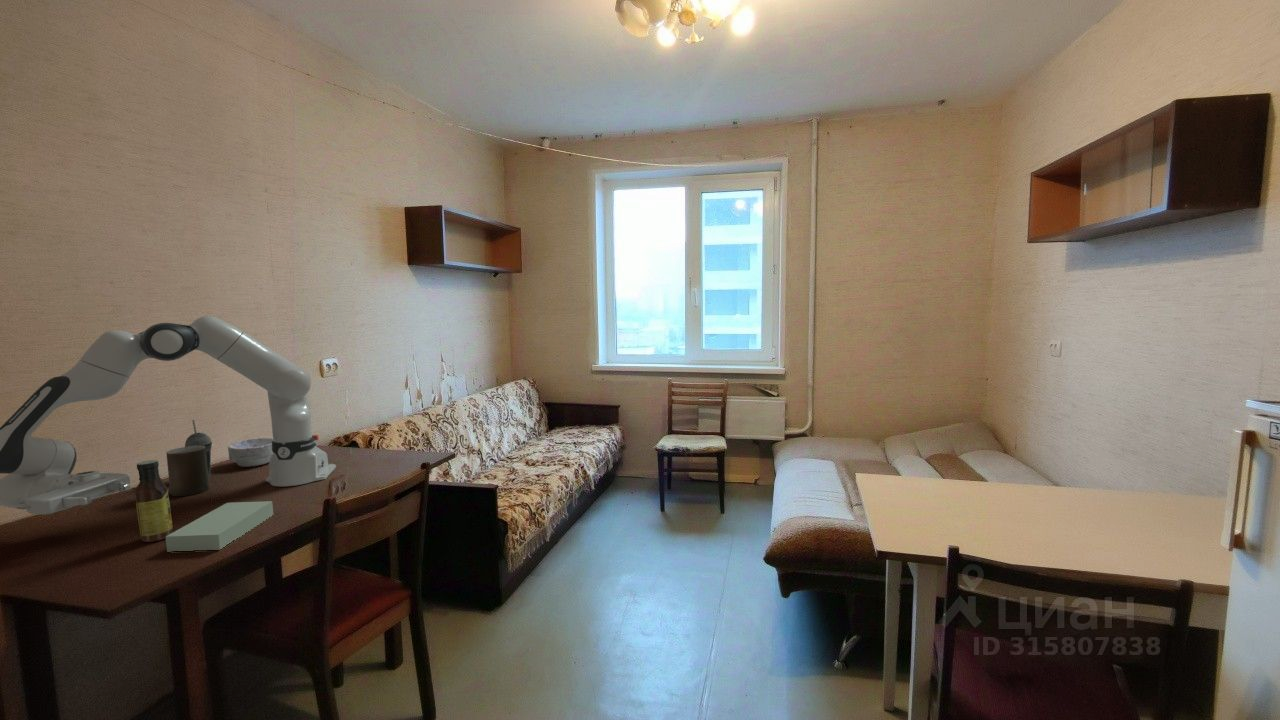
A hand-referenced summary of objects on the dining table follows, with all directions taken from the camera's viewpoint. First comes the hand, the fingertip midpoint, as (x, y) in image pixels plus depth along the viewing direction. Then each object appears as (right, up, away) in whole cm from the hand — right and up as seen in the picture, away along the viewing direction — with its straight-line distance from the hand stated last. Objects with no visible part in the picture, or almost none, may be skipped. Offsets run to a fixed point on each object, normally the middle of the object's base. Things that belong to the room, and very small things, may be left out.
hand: (108, 493), depth 139 cm
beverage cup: (-15, -6, +48) cm, 51 cm away
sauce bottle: (+12, -11, 0) cm, 17 cm away
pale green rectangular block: (+27, -11, +3) cm, 29 cm away
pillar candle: (-8, -8, +34) cm, 36 cm away
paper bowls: (-8, -5, +64) cm, 65 cm away
